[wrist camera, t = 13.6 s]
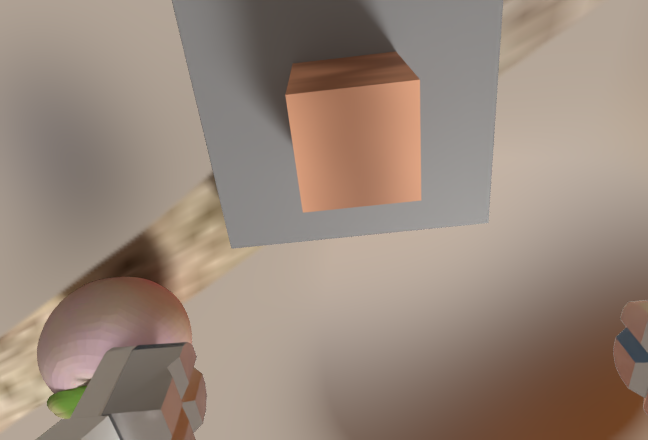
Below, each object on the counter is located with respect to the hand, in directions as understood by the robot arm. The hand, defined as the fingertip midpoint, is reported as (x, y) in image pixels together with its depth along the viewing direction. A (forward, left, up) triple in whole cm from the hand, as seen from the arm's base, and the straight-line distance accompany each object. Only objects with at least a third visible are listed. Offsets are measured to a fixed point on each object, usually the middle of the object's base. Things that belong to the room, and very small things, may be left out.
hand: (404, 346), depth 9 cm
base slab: (0, 0, -21) cm, 21 cm away
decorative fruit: (+16, +13, -21) cm, 30 cm away
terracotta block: (0, 0, -17) cm, 17 cm away
